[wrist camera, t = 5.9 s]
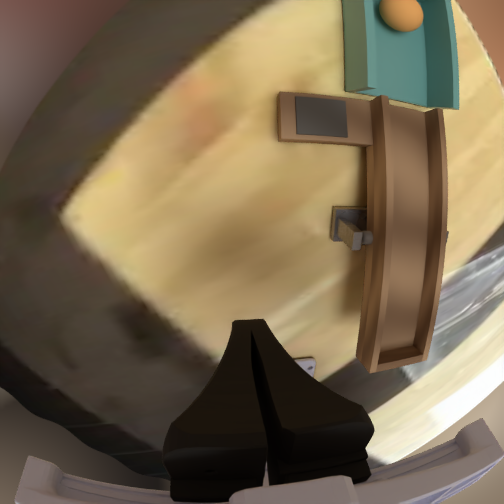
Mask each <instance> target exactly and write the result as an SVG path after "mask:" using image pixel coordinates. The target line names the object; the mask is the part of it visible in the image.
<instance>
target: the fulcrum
mask: <svg viewBox="0 0 504 504" xmlns="http://www.w3.org/2000/svg"><path fill="white" fill-rule="evenodd" d="M362 231H367V207H333V218H332V229H331V240H332V241H343V242H344V243H345V244H346V245H347V246H348V247H349V248H350V249H351V250H360V248H361V242H362V234H363V232H362ZM448 233H449V232H448V231H447V233H446V242H447V238H448Z"/></svg>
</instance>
